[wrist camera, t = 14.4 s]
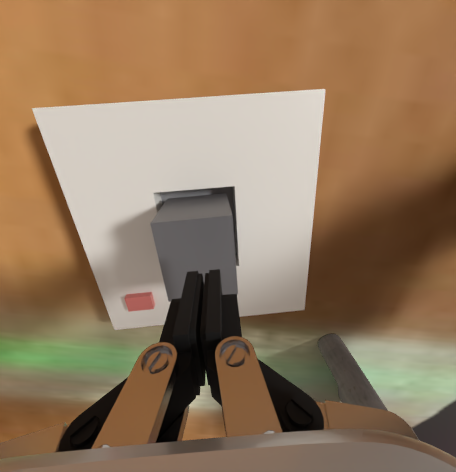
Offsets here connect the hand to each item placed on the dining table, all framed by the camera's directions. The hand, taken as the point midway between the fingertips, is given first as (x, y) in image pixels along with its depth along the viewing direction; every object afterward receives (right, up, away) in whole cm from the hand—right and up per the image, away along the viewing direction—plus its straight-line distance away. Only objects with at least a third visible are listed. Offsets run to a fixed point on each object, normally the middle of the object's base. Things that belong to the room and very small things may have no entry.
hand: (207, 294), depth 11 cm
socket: (-2, +5, +11) cm, 12 cm away
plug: (-1, +4, +10) cm, 11 cm away
